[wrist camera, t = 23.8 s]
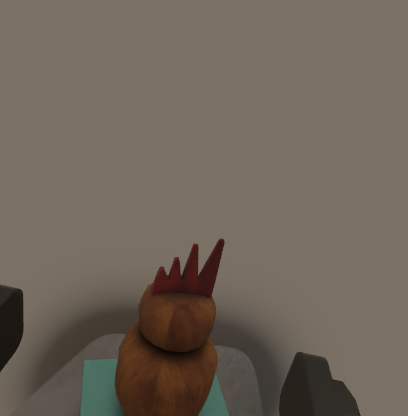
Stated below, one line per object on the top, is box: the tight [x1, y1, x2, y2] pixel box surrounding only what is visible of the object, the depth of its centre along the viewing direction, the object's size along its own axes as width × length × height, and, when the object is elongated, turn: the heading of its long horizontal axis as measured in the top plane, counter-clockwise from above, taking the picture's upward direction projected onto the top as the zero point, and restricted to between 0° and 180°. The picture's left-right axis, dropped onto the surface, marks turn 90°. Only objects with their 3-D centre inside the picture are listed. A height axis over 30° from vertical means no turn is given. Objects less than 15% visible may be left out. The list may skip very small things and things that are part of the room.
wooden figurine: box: [115, 239, 224, 416], centre depth 24 cm, size 7×6×15 cm
